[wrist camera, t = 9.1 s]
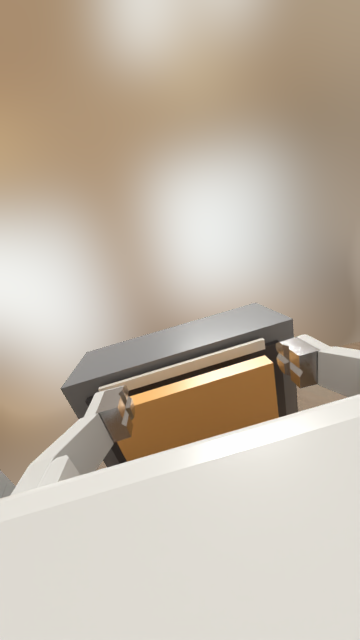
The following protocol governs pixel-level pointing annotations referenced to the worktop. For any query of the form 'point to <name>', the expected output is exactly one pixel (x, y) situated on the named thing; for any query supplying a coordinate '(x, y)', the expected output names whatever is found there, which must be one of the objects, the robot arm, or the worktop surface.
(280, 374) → the grey rectangular box
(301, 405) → the worktop surface
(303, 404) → the worktop surface
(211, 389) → the panel
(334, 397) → the worktop surface
